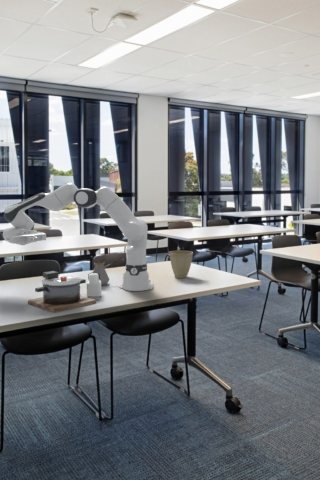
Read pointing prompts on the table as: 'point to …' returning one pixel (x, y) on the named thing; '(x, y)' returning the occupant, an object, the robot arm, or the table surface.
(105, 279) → the coffee pot
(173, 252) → the plant pot
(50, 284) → the lid
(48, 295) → the cooker pot
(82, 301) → the trivet
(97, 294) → the medicine bottle
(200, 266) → the table surface
